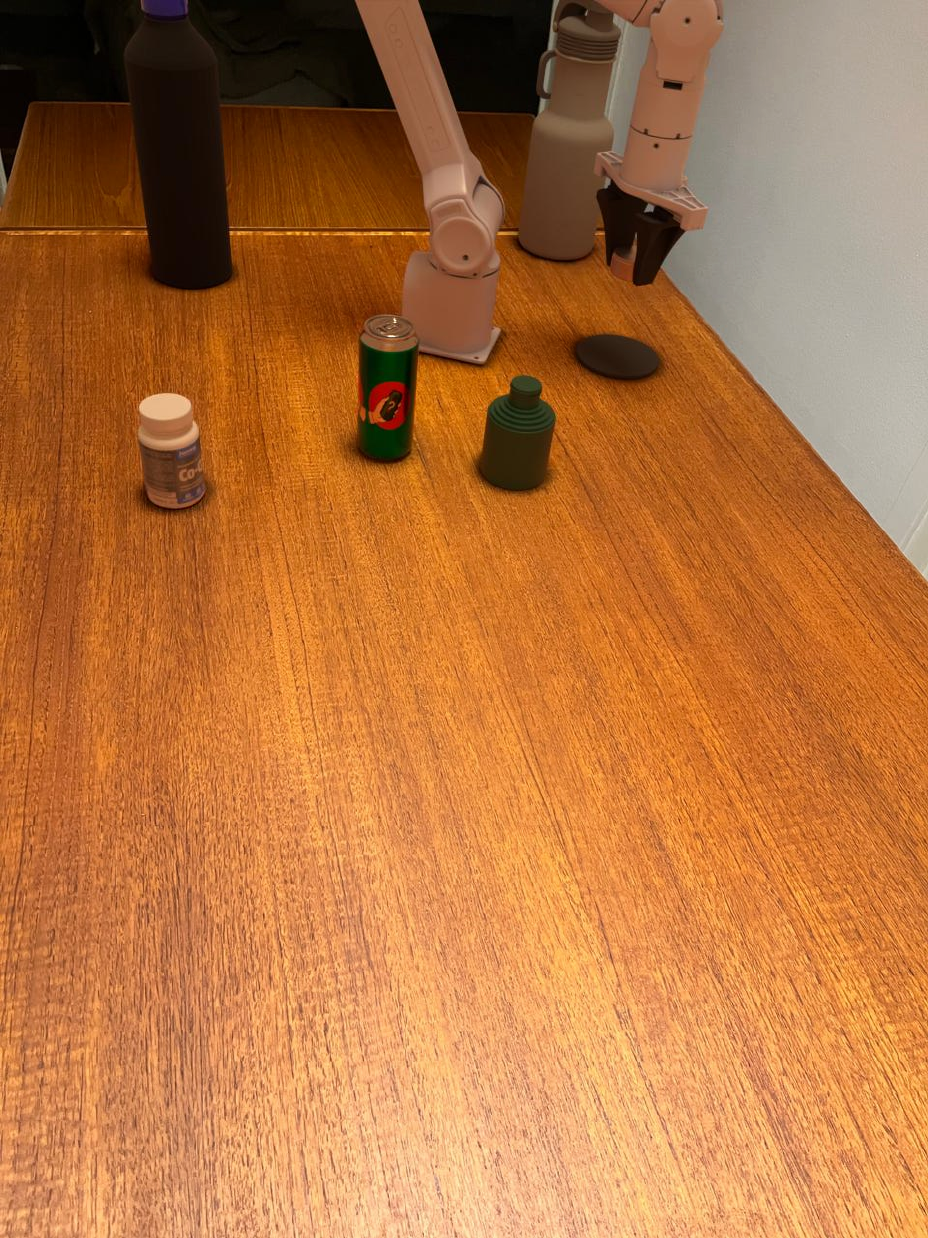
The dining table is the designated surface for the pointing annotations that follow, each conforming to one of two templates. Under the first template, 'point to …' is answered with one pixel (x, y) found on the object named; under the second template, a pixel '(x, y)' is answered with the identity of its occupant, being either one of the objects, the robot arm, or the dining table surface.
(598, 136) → the water bottle
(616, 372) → the coaster
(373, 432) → the soda can
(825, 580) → the dining table surface
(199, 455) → the pill bottle
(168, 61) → the bottle
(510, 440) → the green bottle
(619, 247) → the cap
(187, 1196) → the dining table surface
